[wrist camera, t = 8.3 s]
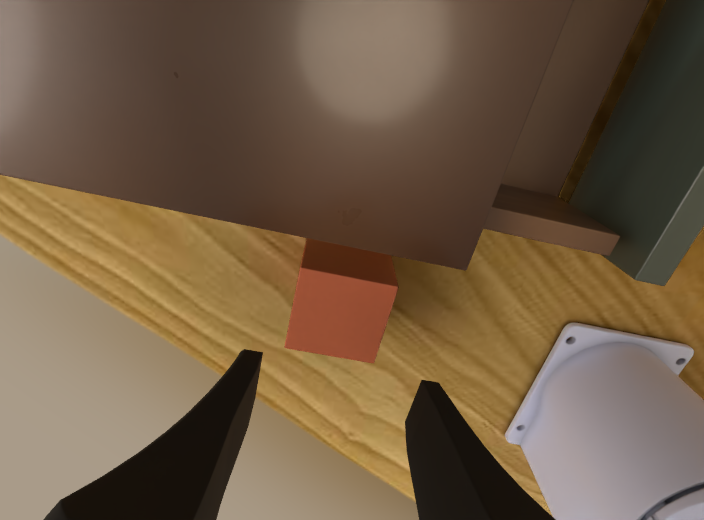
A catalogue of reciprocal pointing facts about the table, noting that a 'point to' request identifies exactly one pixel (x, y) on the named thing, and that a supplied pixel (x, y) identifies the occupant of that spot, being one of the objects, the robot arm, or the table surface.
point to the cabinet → (280, 110)
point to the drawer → (615, 142)
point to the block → (341, 301)
